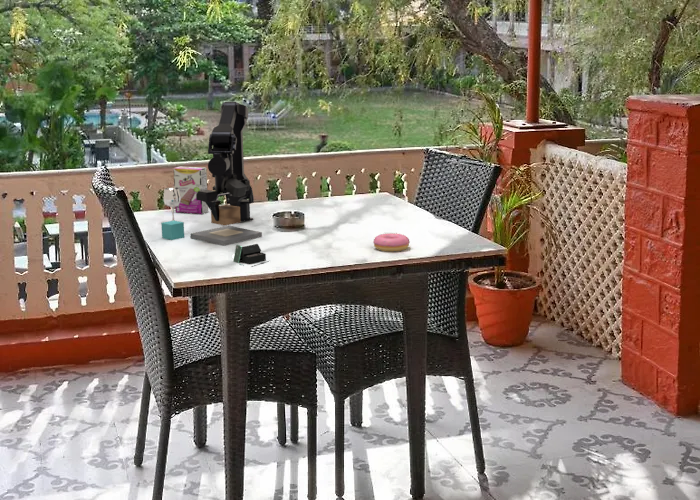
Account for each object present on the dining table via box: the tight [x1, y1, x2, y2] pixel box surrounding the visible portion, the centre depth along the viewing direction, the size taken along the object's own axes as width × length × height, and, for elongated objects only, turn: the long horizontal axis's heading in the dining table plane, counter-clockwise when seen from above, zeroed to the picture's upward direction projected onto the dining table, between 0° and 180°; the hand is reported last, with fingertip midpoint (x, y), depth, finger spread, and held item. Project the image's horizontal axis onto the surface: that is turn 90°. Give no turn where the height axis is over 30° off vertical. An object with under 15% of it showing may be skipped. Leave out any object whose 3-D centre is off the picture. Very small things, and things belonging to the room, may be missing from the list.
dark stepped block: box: [232, 243, 270, 268], centre depth 273 cm, size 15×15×6 cm
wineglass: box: [163, 187, 181, 221], centre depth 325 cm, size 6×6×12 cm
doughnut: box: [373, 232, 411, 253], centre depth 287 cm, size 11×11×4 cm
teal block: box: [160, 219, 185, 241], centre depth 304 cm, size 5×5×5 cm
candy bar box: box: [172, 165, 209, 215], centre depth 342 cm, size 11×5×16 cm, turn 71°
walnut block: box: [210, 203, 242, 227], centre depth 302 cm, size 6×6×5 cm
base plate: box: [189, 225, 263, 247], centre depth 303 cm, size 16×16×2 cm
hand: (225, 219), depth 302 cm, fingers closed on walnut block, 6 cm apart
